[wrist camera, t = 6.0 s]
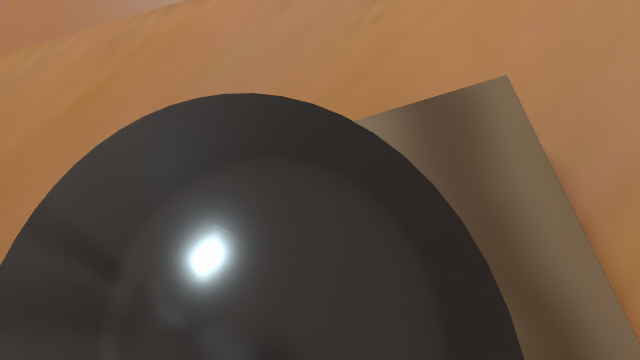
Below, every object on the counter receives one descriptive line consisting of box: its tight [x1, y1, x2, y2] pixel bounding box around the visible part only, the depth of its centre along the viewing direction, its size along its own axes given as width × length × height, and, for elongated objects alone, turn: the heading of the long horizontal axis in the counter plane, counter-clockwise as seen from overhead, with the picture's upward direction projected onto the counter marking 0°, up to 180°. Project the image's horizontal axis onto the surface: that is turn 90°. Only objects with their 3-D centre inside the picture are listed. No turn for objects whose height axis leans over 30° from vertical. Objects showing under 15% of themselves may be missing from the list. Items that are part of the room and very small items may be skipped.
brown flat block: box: [353, 75, 640, 360], centre depth 15 cm, size 20×15×5 cm
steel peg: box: [0, 93, 524, 360], centre depth 10 cm, size 6×6×16 cm
